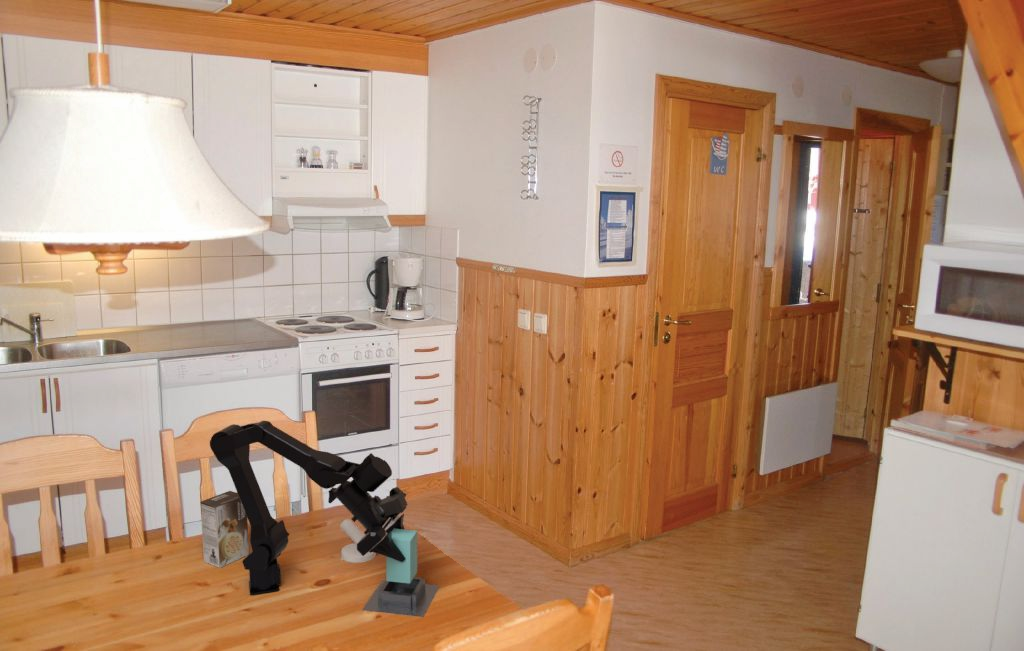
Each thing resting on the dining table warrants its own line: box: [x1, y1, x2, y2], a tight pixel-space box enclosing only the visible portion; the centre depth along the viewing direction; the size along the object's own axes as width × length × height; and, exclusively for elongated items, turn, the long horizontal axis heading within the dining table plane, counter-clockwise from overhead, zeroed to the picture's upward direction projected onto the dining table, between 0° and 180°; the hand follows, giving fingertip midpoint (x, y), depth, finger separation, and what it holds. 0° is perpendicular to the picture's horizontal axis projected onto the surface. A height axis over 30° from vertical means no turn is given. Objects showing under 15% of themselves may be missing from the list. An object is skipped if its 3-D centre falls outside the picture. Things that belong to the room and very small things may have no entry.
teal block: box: [385, 529, 418, 583], centre depth 177 cm, size 6×6×10 cm
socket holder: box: [361, 576, 441, 618], centre depth 178 cm, size 14×14×4 cm
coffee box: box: [199, 490, 250, 569], centre depth 197 cm, size 9×6×16 cm
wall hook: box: [339, 518, 377, 564], centre depth 199 cm, size 9×10×10 cm
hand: (407, 554), depth 177 cm, fingers closed on teal block, 5 cm apart
